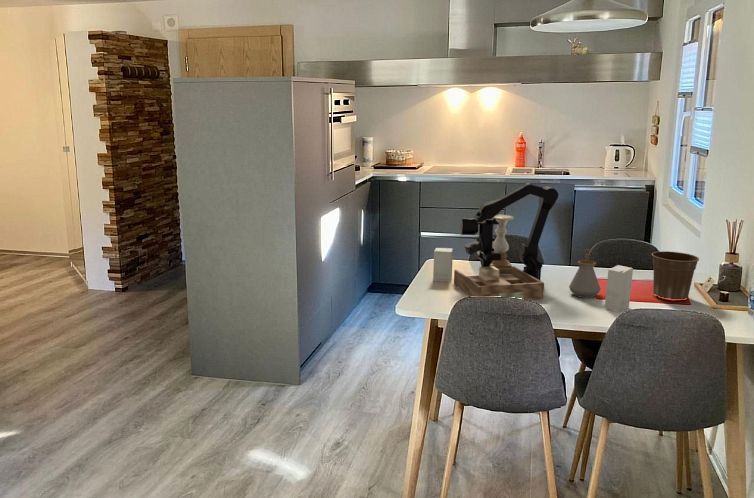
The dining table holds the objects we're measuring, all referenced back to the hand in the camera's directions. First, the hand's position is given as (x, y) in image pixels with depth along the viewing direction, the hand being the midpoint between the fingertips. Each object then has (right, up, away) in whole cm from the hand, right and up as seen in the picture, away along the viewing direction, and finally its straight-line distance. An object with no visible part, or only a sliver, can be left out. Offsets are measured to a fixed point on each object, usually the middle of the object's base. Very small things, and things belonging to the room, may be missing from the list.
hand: (484, 272), depth 271 cm
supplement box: (-16, -3, +5) cm, 17 cm away
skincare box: (+42, -12, -32) cm, 54 cm away
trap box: (+3, -7, -12) cm, 14 cm away
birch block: (+1, -2, -4) cm, 5 cm away
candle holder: (+10, 0, +20) cm, 22 cm away
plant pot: (+68, -9, -18) cm, 71 cm away
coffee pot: (+37, -7, -12) cm, 39 cm away
